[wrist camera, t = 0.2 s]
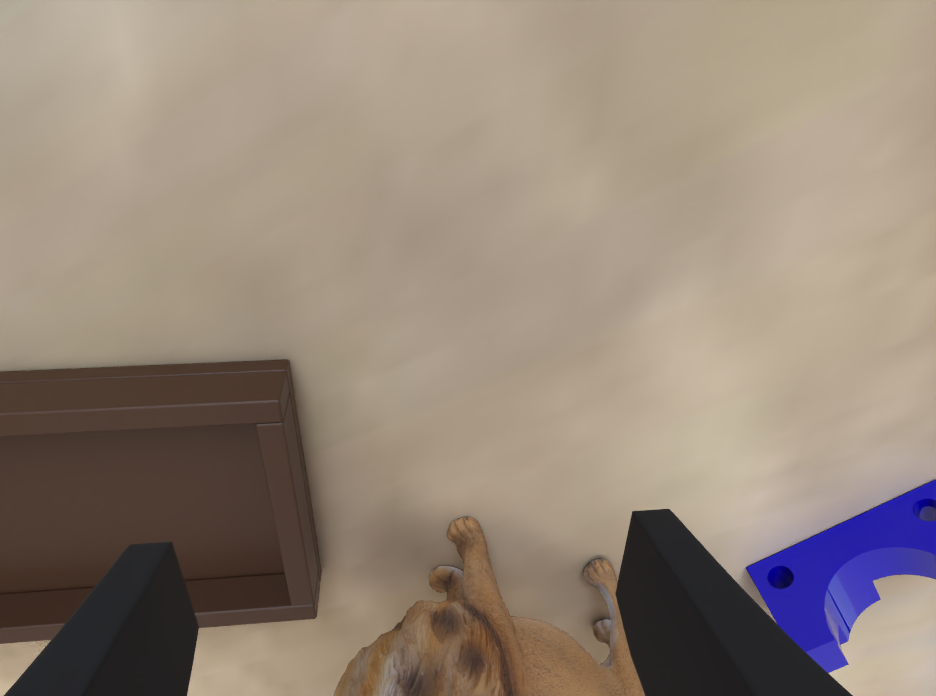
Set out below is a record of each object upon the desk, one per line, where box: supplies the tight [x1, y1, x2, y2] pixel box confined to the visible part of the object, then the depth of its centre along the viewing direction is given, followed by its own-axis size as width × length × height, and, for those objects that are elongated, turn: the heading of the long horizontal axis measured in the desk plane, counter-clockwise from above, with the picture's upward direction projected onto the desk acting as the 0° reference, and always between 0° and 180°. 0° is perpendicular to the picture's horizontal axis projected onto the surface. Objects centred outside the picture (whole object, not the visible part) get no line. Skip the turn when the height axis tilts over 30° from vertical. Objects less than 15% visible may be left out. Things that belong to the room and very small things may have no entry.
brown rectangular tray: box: [0, 360, 321, 644], centre depth 21 cm, size 10×18×2 cm, turn 89°
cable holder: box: [746, 480, 936, 673], centre depth 26 cm, size 8×4×4 cm, turn 123°
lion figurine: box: [333, 517, 645, 696], centre depth 23 cm, size 15×5×9 cm, turn 68°
